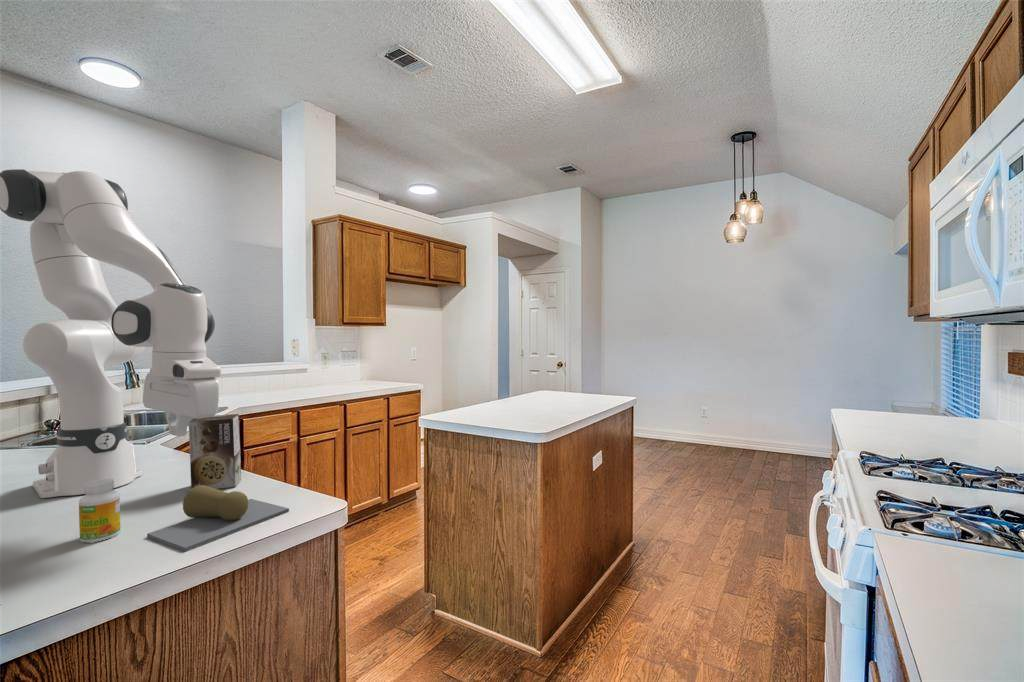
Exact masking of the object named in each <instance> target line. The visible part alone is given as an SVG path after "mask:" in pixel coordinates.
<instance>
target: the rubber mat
mask: <svg viewBox="0 0 1024 682" xmlns="http://www.w3.org/2000/svg"><path fill="white" fill-rule="evenodd" d="M248 502H249V505H248V509H247V511H246V512H245V514H244V515H243V516H242V517H240V518H239V519H237V520H233V521H227V520H224V519H222V518H221V517H195V518H190V519H187V520H183V521H181V522H178V523H175V524H172V525H169V526H166V527H163V528H160V529H157V530H154V531H151V532H148V533H146V537H147V538H149V539H150V540H151V539H152V540H155V541H157V542H160V543H162V544H164V545H167V546H170V547H173V548H175V549H177V550H181V551H183V552H188V551H190V550H193V549H195V548H198V547H200V546H203V545H205V544H208V543H212V542H214V541H216V540H219V539H222V538H224V537H226V536H229V535H231V534H234V533H237V532H240V531H242V530H245V529H246V528H250V527H253V526H255V525H257V524H260V523H263V522H266V521H269V520H270V518H271V519H272V518H275V517H279V516H280V514H281V515H284V514H285V513H288V511H289V512H290V508H289V507H285V506H283V505H282V506H281V505H277V504H273V503H270V502H266V501H262V500H258V499H253V498H250V499H249V498H248Z"/></svg>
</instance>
